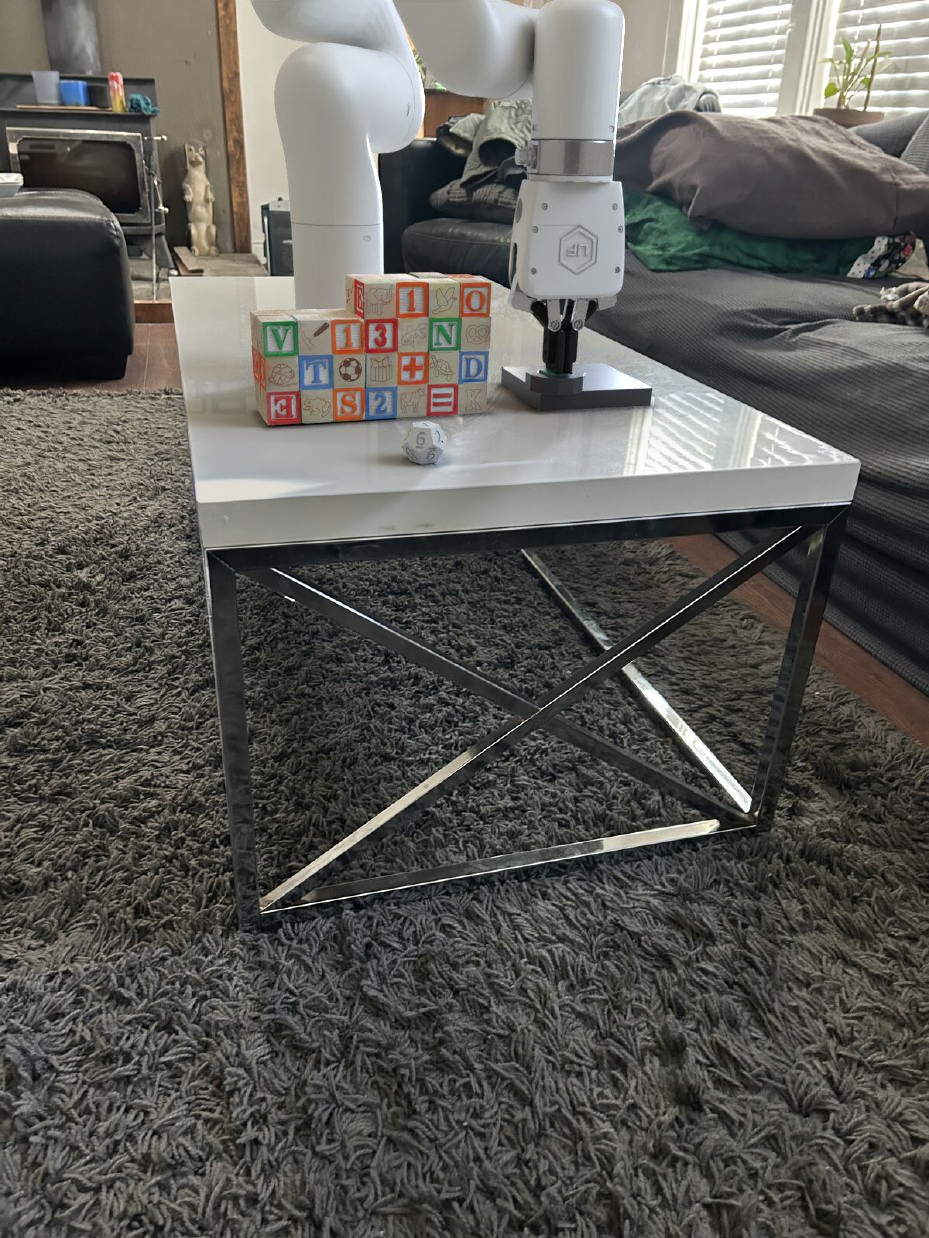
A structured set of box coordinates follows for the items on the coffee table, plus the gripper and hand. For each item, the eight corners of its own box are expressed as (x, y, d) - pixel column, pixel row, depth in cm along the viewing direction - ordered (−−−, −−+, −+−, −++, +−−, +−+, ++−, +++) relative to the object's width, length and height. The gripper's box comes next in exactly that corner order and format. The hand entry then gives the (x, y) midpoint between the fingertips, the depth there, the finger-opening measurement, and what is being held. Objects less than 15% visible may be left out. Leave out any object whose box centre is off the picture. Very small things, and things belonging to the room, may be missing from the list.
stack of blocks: (266, 428, 86) (257, 284, 80) (255, 411, 91) (245, 274, 85) (488, 413, 93) (493, 279, 87) (465, 398, 98) (469, 271, 92)
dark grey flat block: (536, 416, 92) (538, 379, 91) (493, 385, 104) (494, 352, 102) (656, 410, 96) (660, 374, 94) (602, 380, 107) (605, 348, 105)
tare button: (546, 390, 93) (547, 374, 92) (536, 383, 95) (537, 367, 94) (573, 388, 94) (574, 372, 93) (562, 382, 96) (563, 366, 95)
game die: (413, 469, 76) (413, 432, 75) (395, 456, 79) (395, 420, 78) (453, 464, 78) (453, 428, 76) (434, 452, 81) (435, 417, 79)
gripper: (505, 163, 80) (498, 382, 88) (666, 166, 84) (644, 376, 92) (479, 161, 87) (474, 366, 95) (629, 164, 91) (612, 360, 99)
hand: (558, 370), depth 94 cm, fingers closed
